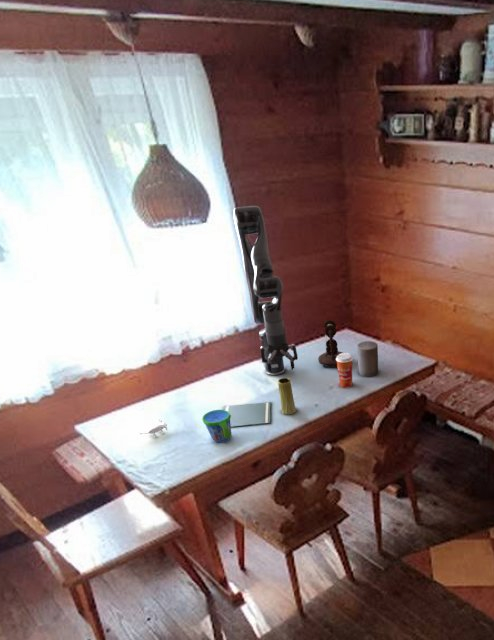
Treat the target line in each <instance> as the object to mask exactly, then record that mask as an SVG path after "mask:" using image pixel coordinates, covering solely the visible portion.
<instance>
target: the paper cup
mask: <svg viewBox="0 0 494 640" xmlns="http://www.w3.org/2000/svg"><path fill="white" fill-rule="evenodd" d="M353 360H354V358H353V356H352V354H350V353H349V352H343V353H341V354H339V355H338V356H337V357H336V361H337V366H336V367H337V373H338V380H339V385H340V387H341V388H344V389H345V388H347V389H348V388H351V387H352V386H353Z"/></svg>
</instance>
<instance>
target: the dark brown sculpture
mask: <svg viewBox="0 0 494 640" xmlns="http://www.w3.org/2000/svg"><path fill="white" fill-rule="evenodd" d="M323 326H324V334H325V338H324V339H325V340H324V341H325V352H323V353H321V354H320V355H318V357H317V359H318V363H319V364H321V365H322V367H323V368H325V367H326V366H327V367H337V361H336V357H337V356H338V355H339V354H341V353H344V352H343V351H339V348H338V342H337V340H336V339H334V337H335V336H336V334H337V325H336V322H335V321H334V320H332V319H329V320H325V322H324V325H323ZM327 338H328V339H327Z"/></svg>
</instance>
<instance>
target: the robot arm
mask: <svg viewBox="0 0 494 640" xmlns="http://www.w3.org/2000/svg"><path fill="white" fill-rule="evenodd" d="M233 221H234V226H235V231H236V234H237V239H238V242H239V247H240V251H241V257H242V264H243V270H244V276H245V280H246V285H247V289H248V294H249V302H250V310H251V316H252V319H253V322H254V323H255V324H257V325H262V324H263V325H264V327H263V328H262V329H260V330H259V331H258V336H259V337H258V338H259V340H260V341H259V342H260V356H261V362H262V363H263V364H264V368H265V373H266V375H268V376H280V375H282V374H284V373H285V372H286V368H285V363H284V357H285V358H286V359H288V360H289V362H290V363H289V364H290V370H291V371H294V369H295V361H297V360H298V350H297V347H296V344H295V343H294V342H292V344H288V340H287V334H286V333H287V332H286V327H285V321H284V317H283V310H282V299H283V291H284V283H283V281H282V279H281V278H280V277H279V276H277V275H274V267H273V263H272V259H271V256H270V251H269V242H268V235H267V228H266V221H265V217H264V213H263V210H262V209H261V207H260V206H259V205H246V206H238V207H234V209H233ZM255 234H257V238H256V240H255V242H254V245H253V244H252V243H251V242H250V240H249V238H248V237H247V235H255ZM270 298H273V299H272V300H266V301H259V300H260V299H270ZM289 349H290V351H292V353H293V356H292V354H291V353H290V352H289Z"/></svg>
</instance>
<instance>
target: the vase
mask: <svg viewBox="0 0 494 640" xmlns="http://www.w3.org/2000/svg"><path fill="white" fill-rule="evenodd" d="M277 385H278V391H279V397H280V398H279V399H280V404H281V412H282V414H283V415H292V414H295V413H296V412H297V409H296V405H295V399H294V393H293V388H292V387H293V386H292V381H291V379H290V378H289V377H282V378H279V379H278V380H277Z"/></svg>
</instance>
